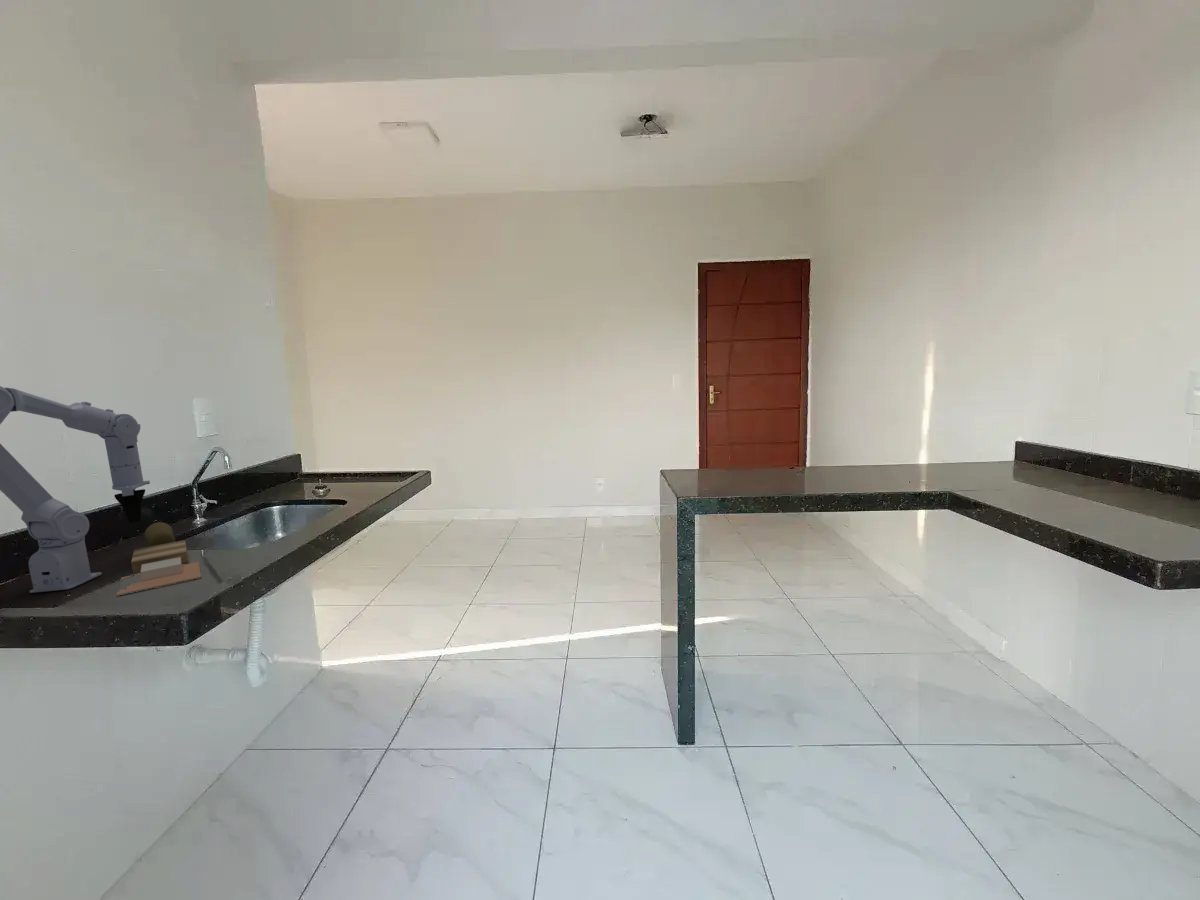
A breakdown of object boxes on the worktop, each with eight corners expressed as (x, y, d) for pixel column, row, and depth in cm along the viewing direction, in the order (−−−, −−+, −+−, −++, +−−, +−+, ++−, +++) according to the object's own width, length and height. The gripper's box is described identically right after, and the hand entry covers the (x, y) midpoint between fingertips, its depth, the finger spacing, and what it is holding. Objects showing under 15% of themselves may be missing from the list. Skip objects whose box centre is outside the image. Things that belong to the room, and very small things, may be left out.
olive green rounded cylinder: (141, 527, 154) (144, 536, 146) (168, 518, 158) (173, 527, 149) (149, 548, 156) (152, 558, 147) (176, 539, 159) (181, 549, 151)
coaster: (143, 573, 131) (141, 564, 131) (182, 565, 135) (180, 556, 135) (142, 581, 125) (140, 572, 125) (182, 572, 129) (181, 563, 129)
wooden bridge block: (136, 561, 142) (134, 549, 142) (187, 551, 148) (185, 540, 148) (133, 575, 131) (131, 562, 131) (188, 564, 137) (186, 551, 136)
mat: (121, 579, 129) (121, 577, 129) (199, 563, 137) (198, 561, 137) (116, 596, 118) (116, 594, 118) (201, 578, 126) (201, 576, 126)
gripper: (145, 465, 137) (155, 523, 139) (147, 460, 149) (156, 513, 151) (105, 470, 133) (116, 529, 135) (111, 464, 145) (121, 519, 147)
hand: (135, 521), depth 142 cm, fingers closed
